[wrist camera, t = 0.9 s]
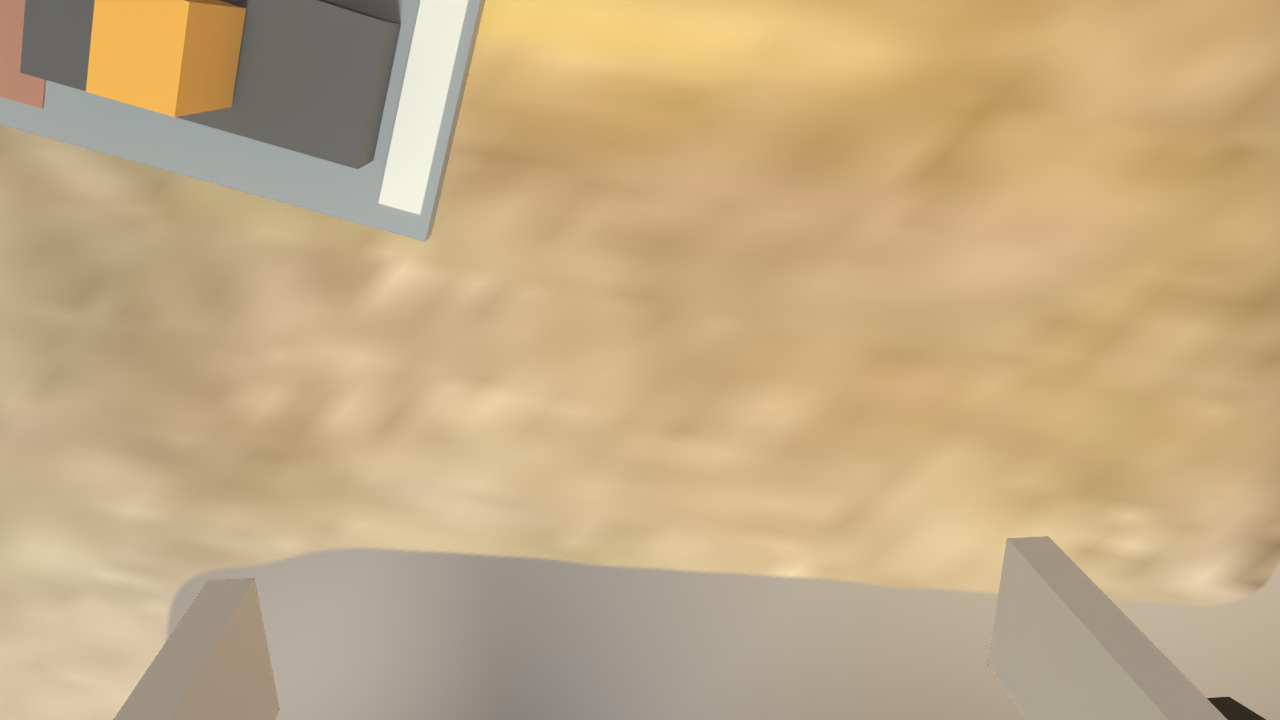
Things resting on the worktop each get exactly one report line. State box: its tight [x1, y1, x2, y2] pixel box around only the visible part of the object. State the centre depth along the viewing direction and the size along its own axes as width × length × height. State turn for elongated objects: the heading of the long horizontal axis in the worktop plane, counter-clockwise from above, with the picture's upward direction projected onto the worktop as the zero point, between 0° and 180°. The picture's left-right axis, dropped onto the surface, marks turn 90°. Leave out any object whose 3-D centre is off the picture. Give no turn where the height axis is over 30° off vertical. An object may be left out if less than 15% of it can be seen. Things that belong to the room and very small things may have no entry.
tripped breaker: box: [86, 0, 246, 117], centre depth 26 cm, size 2×3×4 cm
